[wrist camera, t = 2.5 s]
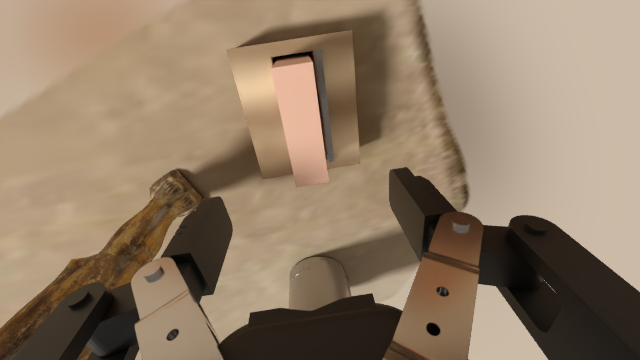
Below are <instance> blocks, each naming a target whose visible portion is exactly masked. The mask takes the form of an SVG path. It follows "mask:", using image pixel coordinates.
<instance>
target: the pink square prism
mask: <svg viewBox="0 0 640 360" xmlns="http://www.w3.org/2000/svg"><path fill="white" fill-rule="evenodd" d="M271 72H272V76H273V81H274V86H275V90H276V95H277V100H278V105H279V109H280V114H281V119H282V123H283V128H284V133H285V138H286V142H287V147H288V152H289V156H290V161H291V166H292V170H293V175H294V180H295V185H296V187H301V186H307V185H313V184H320V183H326V182H329V180H328V172H327V165H326V157H325V150H324V142H323V135H322V128H321V120H320V113H319V105H318V98H317V90H316V83H315V76H314V68H313V62H312V60H311V58H310V57H309V55H308V54H301V55H295V56H288V57H282V58H278V60H277V61H276V62H275V63H274V65H273V66H272V67H271Z"/></svg>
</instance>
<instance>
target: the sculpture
mask: <svg viewBox="0 0 640 360" xmlns="http://www.w3.org/2000/svg"><path fill="white" fill-rule="evenodd" d="M150 197H151V198H152V200H151V201H150V202H149V203H148V205H147V206H146V207H145V208H144V209H143V210H142V211H140V212H139V213H138V214H136V215H135V216H134V217H132V218H131V219H130V220H128V221H127V222H126V223H124V224H123V225H122V226H121V227H120V228H119V229H118V230H117V231H116V233H115V234H114V235H113V236H112V237H111V239H110V240H109V242H108V243H107V245H106V246H105V247H104V249H103V250H102V251H101V252H99V253H98V254H96V255H93V256H90V257H87V258H79V259H71V261H70V262H69V264H68V265H67V266H66V268H65V269H64V271H63V272H62V273H61V274H60V275H59V276H58V277H57V278H56V279H55V280H54V281H53V282H52V283H51V284H50V285H49V286H47V287H46V288H45V289H44V290H43V291H42V292H41V293H39V294H38V295H37V296H36V297H35V298H33V299H32V300H31V301H30V302H29V303H28V304H26V305H25V306H24V307H23V308H22V309H21V310H20V311H18V312H17V313H16V314H15V315H14V316H13V317H12V318H11V319H10V320H9V321H8V322H7V323H6V324H5V325H4V326H3V327H2V328H1V329H0V360H13V359H14V358H15V357H16V355H17V354H18V353H19V352H20V351H21V349H22V348H23V347H24V346H25V344H26V343H27V342H28V341H29V340H30V338H31V337H32V336H33V335H34V333H35V332H36V331H37V330H38V329H39V327H40V326H41V325H42V324H43V322H44V321H45V320H46V319H47V318H48V316H49V315H50V314H51V313H52V312H53V310H54V309H55V308H56V307H57V305H58V304H59V303H60V302H61V301H62V300H63V299H64V298H65V297H67V296H68V295H69V294H71V293H72V292H73V291H75V290H77V289H78V288H80V287H82V286H85V285H87V284H90V283H95V282H100V283H103V284H104V285H105V286H106V287H107V288H108V290H111V289H114V288H116V287H119V286H121V285H124V284H127V283H129V282H131V280H132V278H133V276H134V275H135V274H136V272H137V271H138V270H139V269H140V268H142V267H143V266H144V265H146V264H147V263H149V262H151V261H152V260H153V259H154V257H155V256H156V254H157V253H158V252H159V250H160V248H161V246H162V243H163V240H164V237H165V235H166V232H167V230H168V228H169V226H170V225H171V223H172V222H173V220H174V219H175V218H176V217H177V216H179V217H181V216H185V215H187V214H189V213H191V212H192V211H194V210H196V209H197V207H198V205H199V204H200V202H201V200H202V197H201V195H199V194H198V193H197V192H196V191H195V190H194V189H193V187H192V186H191V185H190V184H189V183H188V182H187V180H186V179H185V178H184V177H183V176H182V175H181V174H180V173H179V172H178V171H177V170H174V171H170V172H169V173H167V174H166V175H165V176H163V177H162V178H160V179H159V180H157V181H156V182H155V183H154V184H153V185H152V186H151V187H150ZM91 352H92V351H91V350H90V349H89V348H88V347H87V346H85V347H84V349H83V351H82V352H81V354H80V355H79V357H78V359H77V360H87V359H88V357H89V356H90V354H91Z"/></svg>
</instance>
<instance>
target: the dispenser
mask: <svg viewBox="0 0 640 360" xmlns="http://www.w3.org/2000/svg"><path fill="white" fill-rule="evenodd" d="M308 51H311V54H312V61H313V68H314V76H315V83H316V90H317V98H318V105H319V113H320V120H321V128H322V135H323V142H324V150H325V157H326V165H327V169H330V168H336V167H343V166H349V165H355V164H360V151H359V134H358V117H357V101H356V84H355V67H354V50H353V33H352V30H349V31H341V32H334V33H328V34H321V35H315V36H308V37H302V38H295V39H289V40H282V41H276V42H269V43H263V44H256V45H250V46H243V47H237V48H232V49H227V54H228V57H229V61H230V64H231V68H232V71H233V75H234V78H235V82H236V85H237V89H238V92H239V96H240V99H241V103H242V106H243V110H244V113H245V117H246V120H247V124H248V127H249V131H250V134H251V138H252V141H253V145H254V149H255V152H256V156H257V159H258V163H259V166H260V170H261V173H262V177H263V179H266V178H272V177H279V176H285V175H291V174H293V170H292V166H291V161H290V156H289V152H288V147H287V142H286V138H285V133H284V128H283V123H282V119H281V114H280V109H279V105H278V100H277V95H276V90H275V86H274V81H273V76H272V72H271V67H272V66H273V65H274V63H275V56H282V55H288V54H295V53H301V52H308Z"/></svg>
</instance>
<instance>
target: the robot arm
mask: <svg viewBox="0 0 640 360" xmlns="http://www.w3.org/2000/svg"><path fill="white" fill-rule="evenodd" d="M389 201H390V206H391V209H392V211H393V213H394V214H395V216H396V218H397V220H398V222H399V224H400V225H401V227H402V229H403V231H404V233H405V235H406V236H407V238H408V240H409V242H410V244H411V246H412V247H413V249H414V251H415V253H416V255H417V257H418V258H419V260H420V265H419V268H418V271H417V273H416V276H415V279H414V282H413V284H412V287H411V290H410V293H409V295H408V298H407V301H406V304H405V307H404V309H403V311H401V310H399V309H397V308H395V307H392V306H389V305H384V304H379V303H375V301H374V298H373V294H372V293H371V294H365V295H359V296H351V291H350V287H349V282H348V278H346V277H345V273H344V269H343V267H342V266H341V264H340V263H339V262H337V261H336V260H334V259H331V258H328V257H311V258H307V259H305V260H302V261H301V262H299V263H298V264H296V265H295V266H294V267H293V269H292V270H291V273H290V287H289V309H285V308H277V309H271V310H265V311H259V312H252V313H250V317H249V323H248V324H247V325H245V326H243V327H241V328H239V329H237V330H236V331H234V332H233V333H232V334H230V335H229V336H228V337H227V338H225V339H224V340H223V341H222V342H221V341H220V339H219V338H218V336H217V334H216V332H215V330H214V328H213V326H212V325H211V323H210V321H209V319H208V317H207V315H206V313H205V311H204V310H203V308H202V306H201V304H200V300H201V297H202V296H205V295H212V294H214V291H215V287H216V284H217V281H218V278H219V275H220V272H221V268H222V265H223V262H224V259H225V256H226V253H227V249H228V246H229V243H230V240H231V237H232V232H233V228H232V223H231V220H230V217H229V215H228V212H227V210H226V207H225V205H224V202H223V200H222V198H221V197H219V196H218V197H212V198H206V199H202V200H201V202H200V204H199V205H198V207H197V209H196V211H192V212H191V213H190V214H189V215H188V216H187V217H185V218H184V220H183V221H182V223H181V225H180V226H179V229H177V231H176V233H175V236H173V238H172V239H171V241H170V243H169V244H168V246H167V248H166V249H165V251H164V253H163V254H162V256H161V258H159V259H155V260H153V261H151V262H149V263H147V264H146V265H144V266H143V267H142V268H140V269H139V270H138V271H137V272H136V274H135V275H134V276H133V278H132V280H131V282H129V283H127V284H124V285H121V286H119V287H116V288H114V289H111V290H108V288H107V287H106V286H105V285H104V284H103V283H100V282H95V283H90V284H87V285H85V286H82V287H80V288H78V289H77V290H75V291H73V292H72V293H71V294H69V295H68V296H67V297H65V298H64V299H63V300H62V301H61V302H60V303H59V304H58V305H57V307H56V308H55V309H54V310H53V312H52V313H51V314H50V315H49V316H48V318H47V319H46V320H45V321H44V322H43V324H42V325H41V326H40V327H39V329H38V330H37V331H36V332H35V333H34V335H33V336H32V337H31V338H30V340H29V341H28V342H27V343H26V344H25V346H24V347H23V348H22V349H21V351H20V352H19V353H18V354H17V355H16V357H15V358H14V359H13V360H77V359H78V357H79V355H80V354H81V352H82V351H83V349H84V347H85V346H87V347H88V348H89V349H90V350H91V351H92V352H91V354H90V356H89V357H88V359H87V360H135V358H136V355H137V353H138V351H139V349H140V352H141V357H142V360H468V353H469V345H470V337H471V330H472V322H473V315H474V307H475V300H476V293H477V285H478V284H484V285H492V286H496V287H497V288H498V289H499V291H500V292H501V294H502V295H503V297H504V298H505V299H506V301H507V302H508V304H509V305H510V306H511V308H512V309H513V311H514V312H515V313H516V315H517V316H518V318H519V319H520V320H521V322H522V323H523V325H524V326H525V327H526V329H527V330H528V332H529V333H530V334H531V336H532V337H533V338H534V340H535V341H536V342H537V344H538V346H539V347H540V348H541V350H542V351H543V353H544V354H545V355H546V357H547V358H548V360H640V292H639V291H638V290H636V289H635V288H634V287H633V286H631V285H630V284H629V283H628V282H626V281H625V280H624V279H623V278H621V277H620V276H619V275H618V274H616V273H615V272H614V271H613V270H611V269H610V268H609V267H608V266H606V265H605V264H604V263H603V262H601V261H600V260H599V259H598V258H596V257H595V256H594V255H593V254H591V253H590V252H589V251H588V250H586V249H585V248H584V247H583V246H581V245H580V244H579V243H578V242H576V241H575V240H574V239H573V238H571V237H570V236H569V235H568V234H566V233H565V232H564V231H563V230H562V229H560V228H559V227H558V226H556V225H555V224H553V223H552V222H549V221H548V220H545V219H543V218H539V217H535V216H528V215H521V216H516V217H514V218H512V219H511V220H510V223H509V226H508V227H502V226H488V225H483V224H482V223H481V222H480V221H479V220H478V219H477V218H476V217H474V216H472V215H470V214H467V213H464V212H457V211H456V209H455V208H454V207H453V206H452V205H451V204H450V203H449V202H448V201H447V200H446V198H445V197H444V196H443V195H442V194H440V192H439V191H438V190H437V189H435V186H434V185H433V184H432V183H431V182H430V181H429V180H427V179H425V178H423V177H421V176H414V175H413V174H412V172H411V171H410V170H409V169H408V168H407V167H404V168H398V169H392V170H390V172H389ZM544 280H545V281H546V282H547V283H548V284H549V285H550V286H551V287H550V286H549V285H548V284H547V283H546V282H545V281H544ZM552 289H553V290H554V291H555V292H556V293H557V294H556V293H555V292H554V291H553V290H552Z"/></svg>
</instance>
